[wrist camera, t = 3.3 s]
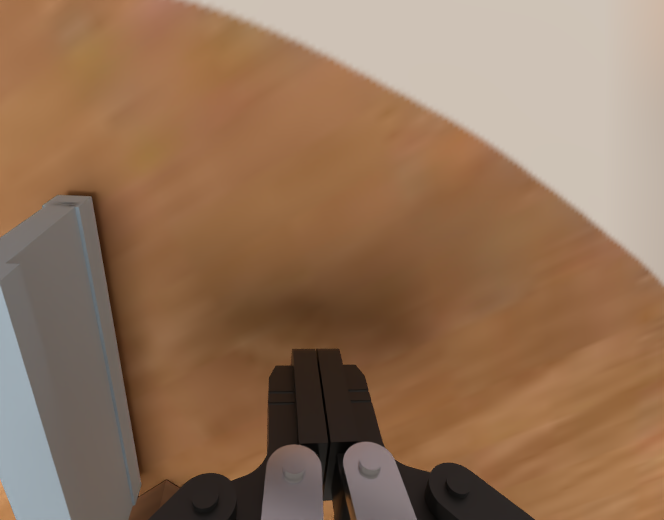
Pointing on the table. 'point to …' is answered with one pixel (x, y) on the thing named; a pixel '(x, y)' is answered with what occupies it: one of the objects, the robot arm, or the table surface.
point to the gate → (62, 373)
